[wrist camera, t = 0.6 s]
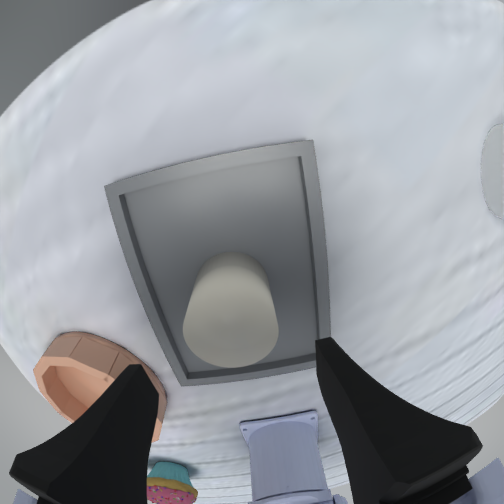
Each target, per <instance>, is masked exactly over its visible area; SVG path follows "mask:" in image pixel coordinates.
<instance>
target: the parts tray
mask: <svg viewBox="0 0 504 504" xmlns="http://www.w3.org/2000/svg"><path fill="white" fill-rule="evenodd" d="M104 188H105V192H106V196H107V200H108V203H109V207H110V211H111V214H112V218H113V221H114V225H115V228H116V231H117V235H118V238H119V241H120V244H121V247H122V250H123V253H124V256H125V259H126V262H127V265H128V268H129V270H130V273H131V276H132V279H133V281H134V284H135V287H136V289H137V292H138V294H139V297H140V299H141V302H142V304H143V307H144V309H145V312H146V314H147V316H148V319H149V321H150V323H151V326H152V328H153V330H154V332H155V335H156V337H157V339H158V341H159V343H160V345H161V348H162V350H163V352H164V354H165V356H166V358H167V360H168V362H169V364H170V366H171V368H172V370H173V372H174V374H175V376H176V378H177V380H178V381H179V383H180V385H181V386H196V385H208V384H218V383H227V382H235V381H243V380H250V379H257V378H263V377H269V376H275V375H280V374H286V373H291V372H296V371H301V370H306V369H310V368H315V367H316V349H315V340H319V339H323V338H327V337H331V330H330V299H329V279H328V264H327V250H326V238H325V228H324V218H323V208H322V199H321V191H320V183H319V176H318V168H317V162H316V155H315V148H314V142H313V140H307V141H299V142H291V143H284V144H277V145H270V146H264V147H258V148H252V149H246V150H241V151H235V152H230V153H225V154H220V155H215V156H211V157H206V158H202V159H197V160H193V161H189V162H185V163H181V164H177V165H173V166H169V167H165V168H161V169H158V170H154V171H151V172H147V173H144V174H140V175H137V176H134V177H130V178H127V179H124V180H121V181H118V182H114V183H111V184H108V185H105V186H104ZM224 252H239V253H243V254H246V255H249V256H251V257H252V258H254V259H255V260H257V261H258V262H259V263H260V264H261V265H262V267H263V268H264V270H265V272H266V274H267V277H268V281H269V286H270V291H271V295H272V300H273V304H274V309H275V313H276V318H277V323H278V329H279V334H278V339H277V342H276V344H275V346H274V348H273V349H272V351H271V352H270V353H269V354H268V355H267V356H266V357H264V358H263V359H262V360H260V361H258V362H256V363H254V364H251V365H248V366H244V367H237V368H227V367H220V366H216V365H212V364H210V363H207V362H205V361H204V360H202V359H200V358H199V357H197V356H196V355H195V354H194V353H193V352H192V351H191V350H190V348H189V347H188V346H187V344H186V342H185V339H184V336H183V323H184V319H185V315H186V312H187V308H188V305H189V301H190V298H191V294H192V291H193V288H194V284H195V281H196V278H197V274H198V272H199V270H200V268H201V267H202V265H203V264H204V263H205V262H206V261H207V260H208V259H210V258H211V257H213V256H215V255H217V254H220V253H224Z"/></svg>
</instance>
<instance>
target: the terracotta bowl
mask: <svg viewBox="0 0 504 504" xmlns="http://www.w3.org/2000/svg"><path fill="white" fill-rule="evenodd" d="M129 364H142V366H143V368H144V370H145V371H146V373H147V375H148V377H149V378H150V380H151V382H152V383H153V385H154V386H155V388H156V390H157V391H158V393H159V406H158V415H157V420H156V424H155V429H154V433H153V438H152V442H155V441H158V440H159V436H160V432H161V427H162V423H163V418H164V414H165V409H166V404H167V398H166V393H165V390H164V388H163V386H162V384H161V382H160V381H159V379H158V378H157V376H156V375H155V374H154V373H153V372H152V371H151V370H150V369H149V368H148V367H147V366H146V365H145V364H144V363H143V362H142V361H141V360H140V359H138V358H137V357H136V356H134V355H133V354H132V353H130V352H129V351H127V350H125V349H124V348H122V347H120V346H119V345H117V344H115V343H113V342H111V341H109V340H106V339H104V338H101V337H99V336H96V335H92V334H88V333H83V332H68V333H64V334H61V335H60V336H58V337H57V338H55V339H54V341H53V342H52V343H51V345H50V346H49V347H48V349H47V350H46V351H45V353H44V354H43V356H42V357H41V358H40V360H39V361H38V363H37V364H36V366H35V368H34V369H33V371H34V375H35V378H36V381H37V384H38V387H39V390H40V392H41V393H42V394H43V396H44V397H45V398H46V399H47V400H48V402H49V403H50V404H51V405H52V406H53V408H54V409H55V410H56V411H57V412H58V413H59V414H60V415H62V416H63V417H64V418H66V419H67V420H68V421H70V422H71V423H73V422H74V421H75V420H77V419H78V418H79V417H80V416H81V415H82V414H83V413H84V412H85V411H86V410H87V409H88V408H89V407H90V406H91V405H92V404H93V403H94V402H95V401H96V400H97V399H98V398H99V397H100V396H101V395H102V394H103V393H104V392H105V390H106V389H107V388H108V387H109V386H110V385H111V384H112V383H113V381H114V380H115V379H116V378H117V377H118V376H119V375H120V374H121V372H122V371H123V370H124V369H125V368H126V367H127V366H128V365H129Z"/></svg>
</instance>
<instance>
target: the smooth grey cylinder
mask: <svg viewBox="0 0 504 504" xmlns="http://www.w3.org/2000/svg"><path fill="white" fill-rule="evenodd" d="M278 334H279V329H278V323H277V318H276V313H275V309H274V304H273V300H272V295H271V291H270V286H269V281H268V277H267V274H266V272H265V270H264V268H263V267H262V265H261V264H260V263H259V262H258V261H257V260H255V259H254V258H252V257H251V256H249V255H246V254H243V253H239V252H224V253H220V254H217V255H215V256H213V257H211V258H210V259H208V260H207V261H206V262H205V263H204V264H203V265H202V267H201V268H200V270H199V272H198V274H197V278H196V281H195V284H194V288H193V291H192V294H191V298H190V301H189V305H188V308H187V312H186V315H185V319H184V323H183V336H184V339H185V342H186V344H187V346H188V347H189V348H190V350H191V351H192V352H193V353H194V354H195V355H196V356H197V357H199V358H200V359H202V360H204V361H205V362H207V363H210V364H212V365H216V366H220V367H227V368H237V367H244V366H248V365H251V364H254V363H256V362H258V361H260V360H262V359H263V358H264V357H266V356H267V355H268V354H269V353H270V352H271V351H272V349H273V348H274V346H275V344H276V342H277V339H278Z"/></svg>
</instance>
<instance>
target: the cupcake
mask: <svg viewBox="0 0 504 504" xmlns="http://www.w3.org/2000/svg"><path fill="white" fill-rule="evenodd" d="M197 495H198V491H197V490H196V489H195V488H193V486H192V484H191V482H190V479H189V475H188V471H187V469H186V468H185V467H183V466H181V465H179V464H176V463H171V462H157V463H156V464H155V466H154V467H153V469H152V471H151V472H150V473H149V475H148V476H147V500H150V501H152V503H156V504H193V503H194V502H195V501H196V499H197V498H196V497H197Z"/></svg>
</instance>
